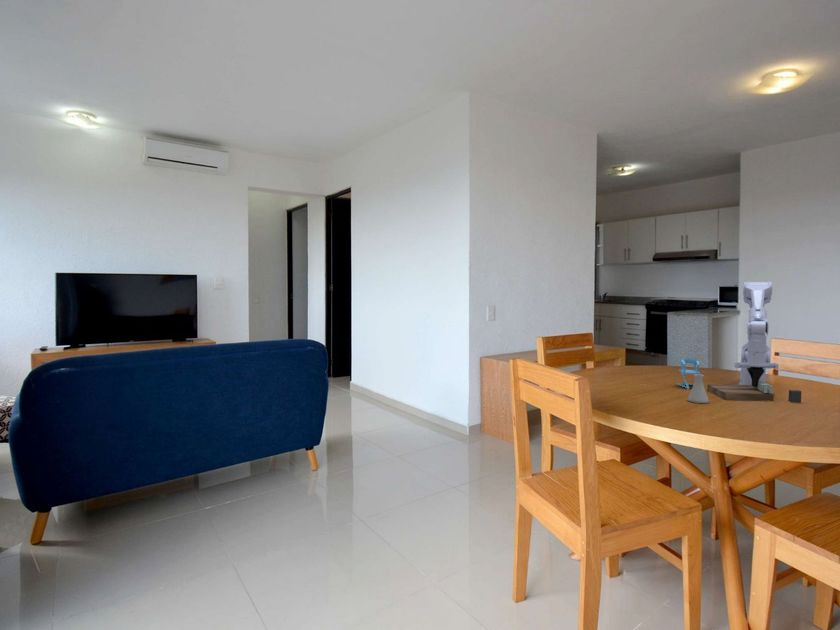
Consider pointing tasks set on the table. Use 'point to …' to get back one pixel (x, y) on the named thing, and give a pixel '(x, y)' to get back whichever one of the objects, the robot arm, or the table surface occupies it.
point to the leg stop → (794, 396)
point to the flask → (698, 391)
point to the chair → (684, 371)
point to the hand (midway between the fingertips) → (755, 386)
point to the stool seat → (739, 392)
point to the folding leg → (764, 387)
